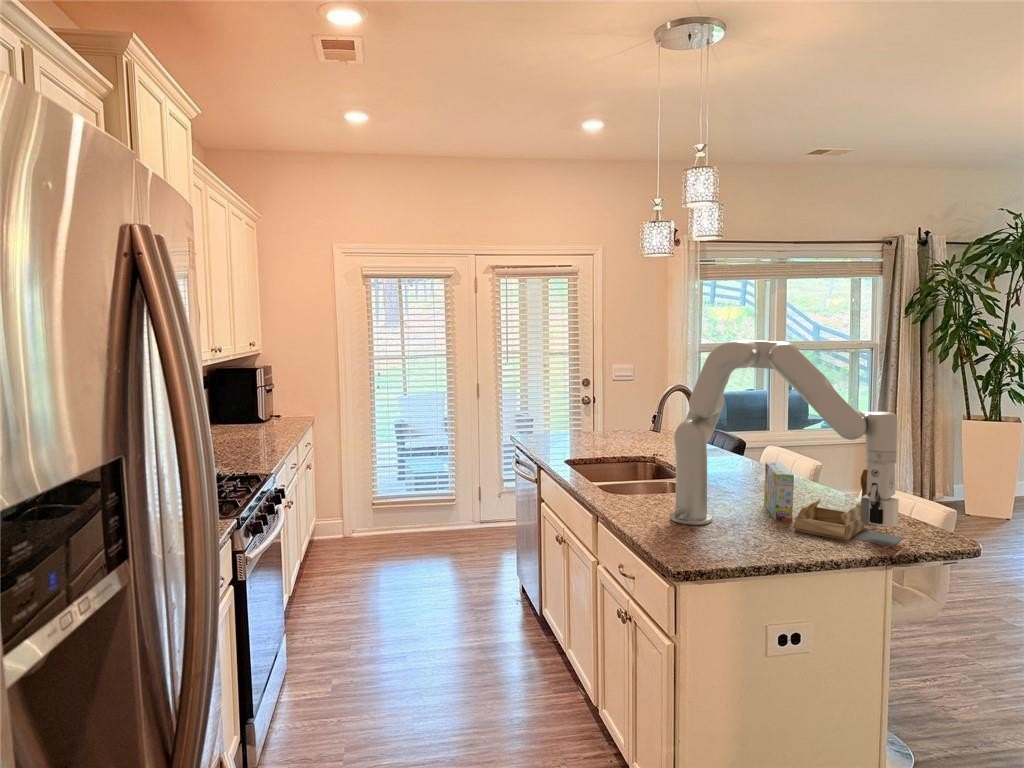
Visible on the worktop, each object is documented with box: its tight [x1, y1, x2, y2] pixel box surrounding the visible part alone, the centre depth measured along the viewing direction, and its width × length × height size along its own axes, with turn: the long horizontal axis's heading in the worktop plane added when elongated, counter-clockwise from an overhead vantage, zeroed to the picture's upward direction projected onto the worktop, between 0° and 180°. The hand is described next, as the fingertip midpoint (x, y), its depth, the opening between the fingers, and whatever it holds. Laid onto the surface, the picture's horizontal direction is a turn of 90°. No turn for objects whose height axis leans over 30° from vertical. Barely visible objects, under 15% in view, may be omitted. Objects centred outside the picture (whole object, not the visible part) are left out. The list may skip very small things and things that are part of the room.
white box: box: [860, 494, 900, 528], centre depth 184 cm, size 5×8×7 cm, turn 46°
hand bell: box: [855, 469, 868, 509], centre depth 204 cm, size 8×8×16 cm
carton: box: [793, 498, 865, 541], centre depth 194 cm, size 20×14×7 cm
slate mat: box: [853, 530, 904, 547], centre depth 185 cm, size 10×10×1 cm
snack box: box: [763, 461, 795, 522], centre depth 213 cm, size 21×6×15 cm, turn 168°
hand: (879, 520), depth 185 cm, fingers closed on white box, 5 cm apart
